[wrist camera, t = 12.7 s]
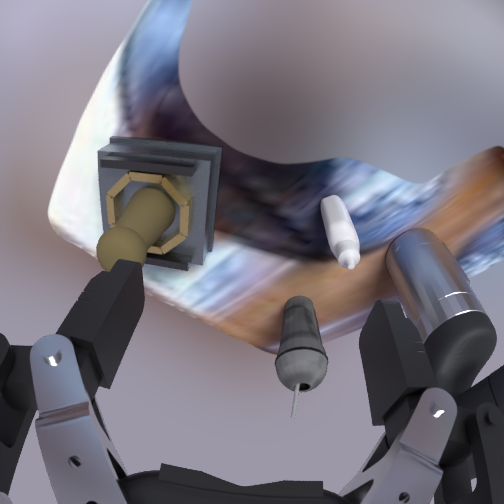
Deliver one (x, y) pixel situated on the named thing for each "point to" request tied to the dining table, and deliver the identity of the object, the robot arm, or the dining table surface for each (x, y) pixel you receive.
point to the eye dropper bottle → (340, 231)
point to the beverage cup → (300, 349)
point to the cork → (136, 228)
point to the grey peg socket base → (170, 182)
